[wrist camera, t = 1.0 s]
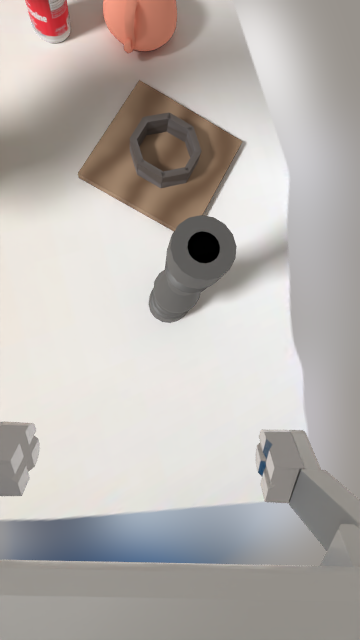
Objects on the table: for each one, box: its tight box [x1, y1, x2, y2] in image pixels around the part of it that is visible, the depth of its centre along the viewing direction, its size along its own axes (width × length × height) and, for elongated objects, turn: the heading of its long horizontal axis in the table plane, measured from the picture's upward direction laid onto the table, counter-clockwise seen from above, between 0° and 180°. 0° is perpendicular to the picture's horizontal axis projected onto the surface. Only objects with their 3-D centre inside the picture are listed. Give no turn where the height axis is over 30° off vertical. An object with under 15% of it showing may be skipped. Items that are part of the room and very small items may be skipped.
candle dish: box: [78, 80, 242, 231], centre depth 53 cm, size 20×20×4 cm
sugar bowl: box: [103, 0, 177, 53], centre depth 53 cm, size 12×14×10 cm
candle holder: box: [149, 215, 236, 323], centre depth 40 cm, size 6×6×25 cm
